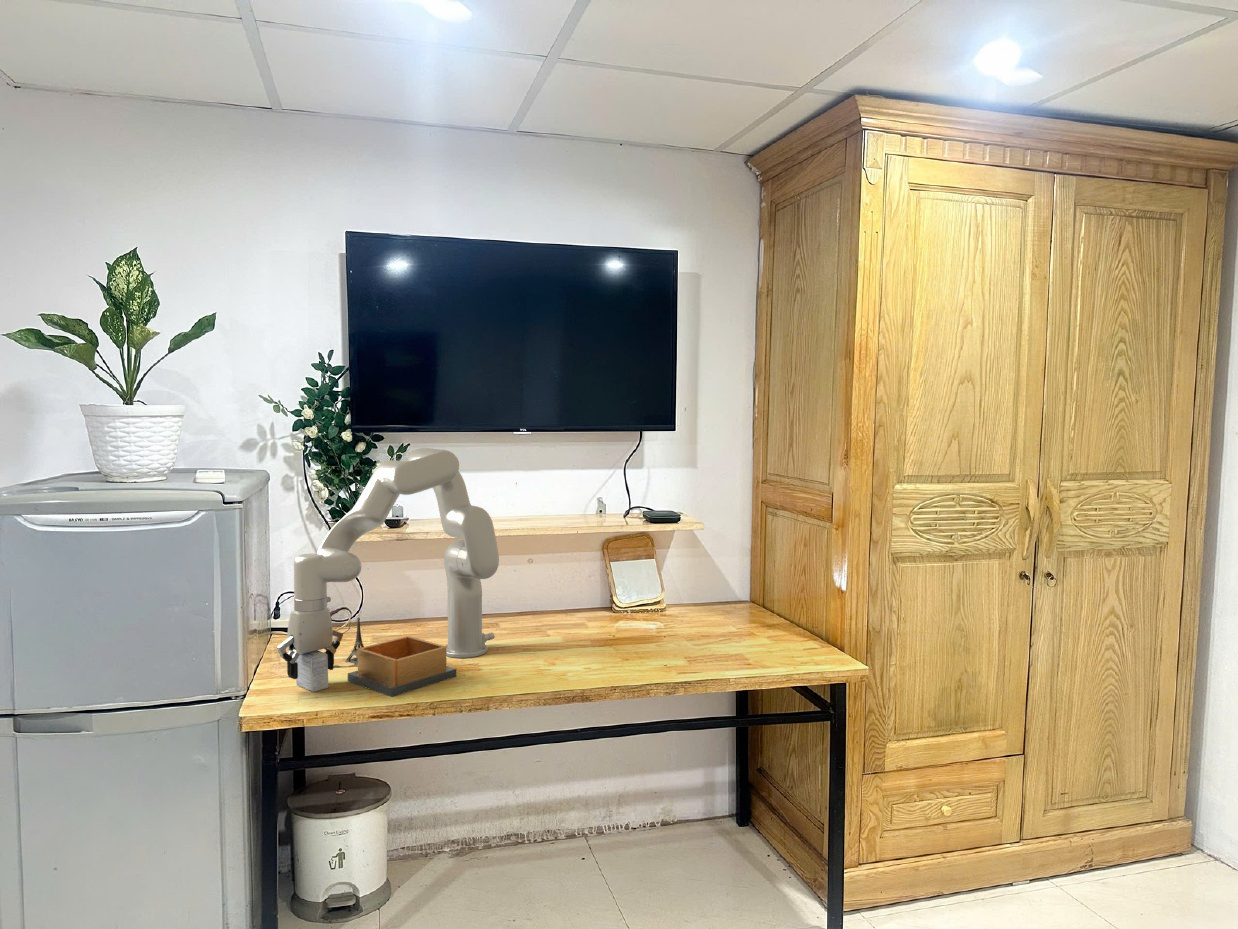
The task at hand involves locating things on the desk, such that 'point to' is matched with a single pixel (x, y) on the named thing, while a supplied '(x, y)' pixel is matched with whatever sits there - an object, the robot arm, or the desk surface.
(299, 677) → the medicine box
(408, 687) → the brown open box
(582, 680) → the desk surface
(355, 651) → the eiffel tower figurine
